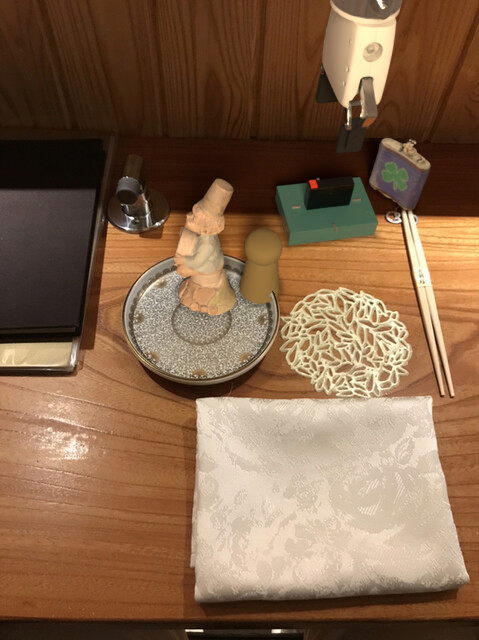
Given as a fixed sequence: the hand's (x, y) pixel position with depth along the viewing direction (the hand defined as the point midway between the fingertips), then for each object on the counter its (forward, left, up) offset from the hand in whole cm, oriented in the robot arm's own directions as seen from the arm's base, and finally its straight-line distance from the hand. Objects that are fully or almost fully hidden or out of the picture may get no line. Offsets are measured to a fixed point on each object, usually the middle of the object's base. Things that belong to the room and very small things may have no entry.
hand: (336, 125), depth 73 cm
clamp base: (-2, -2, -20) cm, 20 cm away
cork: (+11, +10, -20) cm, 25 cm away
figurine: (+19, +10, -20) cm, 30 cm away
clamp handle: (-2, -2, -17) cm, 17 cm away
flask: (-15, -5, -20) cm, 25 cm away
